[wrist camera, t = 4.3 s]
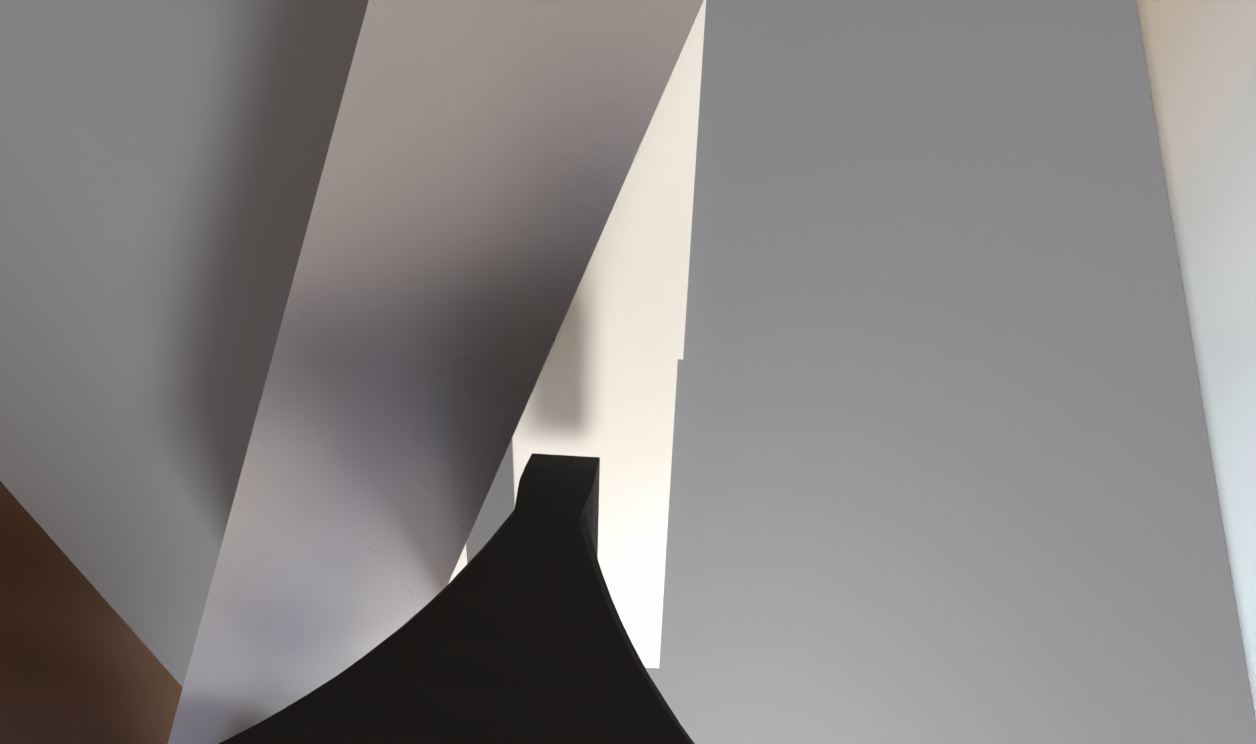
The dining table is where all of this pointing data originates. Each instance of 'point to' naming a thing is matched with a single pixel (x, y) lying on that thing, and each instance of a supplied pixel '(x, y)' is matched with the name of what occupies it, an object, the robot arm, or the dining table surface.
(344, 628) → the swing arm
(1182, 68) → the dining table surface
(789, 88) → the board
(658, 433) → the label
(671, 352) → the label
